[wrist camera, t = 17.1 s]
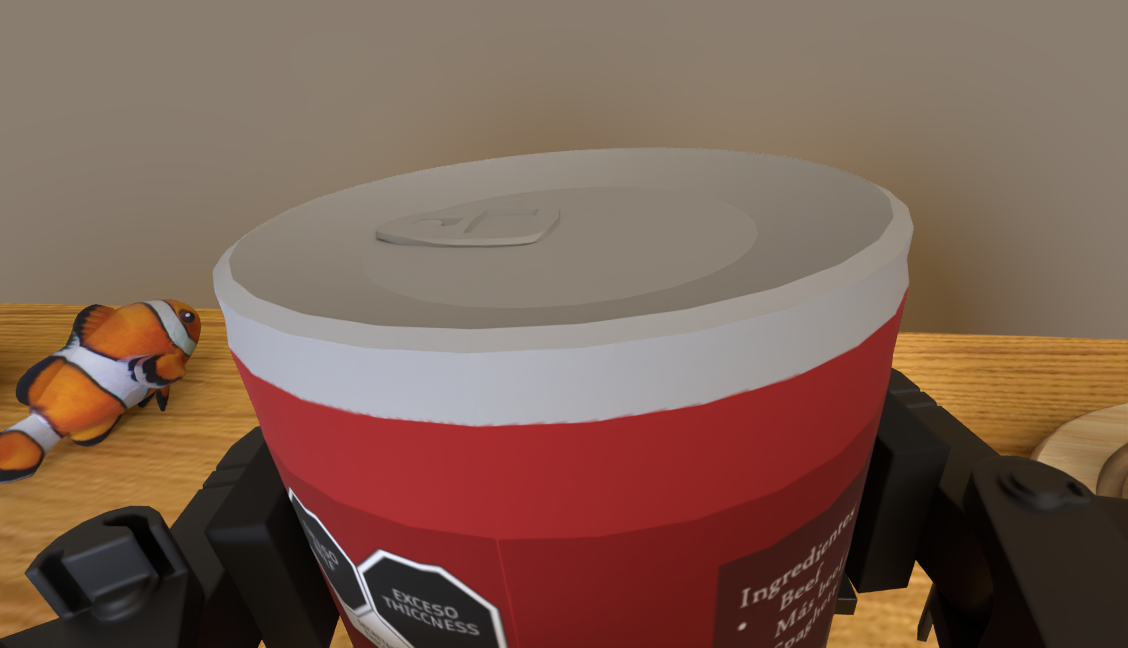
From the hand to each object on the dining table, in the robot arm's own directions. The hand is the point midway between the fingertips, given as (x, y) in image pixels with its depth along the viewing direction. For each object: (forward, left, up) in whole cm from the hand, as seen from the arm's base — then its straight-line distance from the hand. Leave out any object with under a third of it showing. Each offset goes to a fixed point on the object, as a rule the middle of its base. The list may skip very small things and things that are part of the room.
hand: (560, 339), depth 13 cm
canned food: (-5, -1, -7) cm, 8 cm away
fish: (+19, +39, -18) cm, 48 cm away
